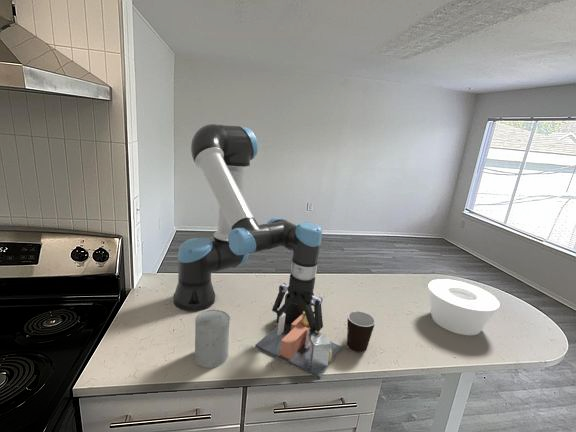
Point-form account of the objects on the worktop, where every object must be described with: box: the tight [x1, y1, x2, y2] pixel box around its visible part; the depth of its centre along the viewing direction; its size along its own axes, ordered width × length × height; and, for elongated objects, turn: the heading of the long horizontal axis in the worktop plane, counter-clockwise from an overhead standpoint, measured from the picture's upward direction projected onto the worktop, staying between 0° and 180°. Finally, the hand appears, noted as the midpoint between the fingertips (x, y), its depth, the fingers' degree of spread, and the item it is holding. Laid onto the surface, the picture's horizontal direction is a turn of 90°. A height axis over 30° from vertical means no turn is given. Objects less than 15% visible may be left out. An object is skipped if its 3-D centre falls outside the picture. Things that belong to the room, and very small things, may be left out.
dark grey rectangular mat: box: [255, 323, 342, 379], centre depth 102 cm, size 22×16×1 cm
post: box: [301, 311, 309, 328], centre depth 106 cm, size 3×3×8 cm
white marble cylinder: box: [193, 309, 231, 369], centre depth 93 cm, size 10×10×12 cm
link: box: [280, 315, 320, 359], centre depth 102 cm, size 16×7×5 cm, turn 149°
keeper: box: [308, 331, 332, 368], centre depth 95 cm, size 6×6×7 cm
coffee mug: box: [346, 310, 376, 353], centre depth 105 cm, size 12×9×10 cm
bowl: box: [427, 278, 501, 336], centre depth 124 cm, size 24×24×12 cm
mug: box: [283, 292, 314, 325], centre depth 116 cm, size 9×12×9 cm
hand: (293, 339), depth 103 cm, fingers open, 9 cm apart
